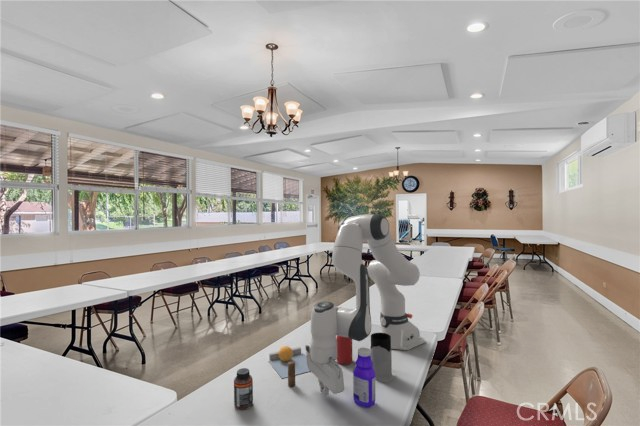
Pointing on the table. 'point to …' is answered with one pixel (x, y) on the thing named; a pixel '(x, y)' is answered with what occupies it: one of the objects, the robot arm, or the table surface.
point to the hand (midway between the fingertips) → (324, 393)
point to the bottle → (364, 379)
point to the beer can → (344, 350)
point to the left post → (291, 374)
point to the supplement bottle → (243, 389)
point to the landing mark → (282, 366)
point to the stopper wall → (276, 355)
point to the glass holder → (381, 356)
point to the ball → (285, 353)
